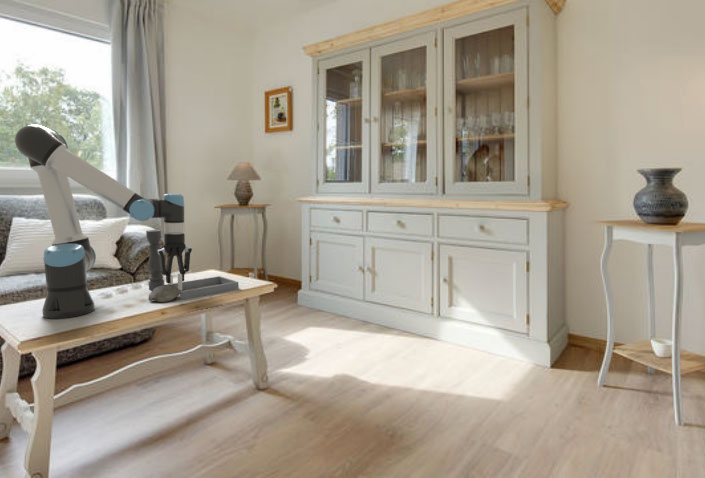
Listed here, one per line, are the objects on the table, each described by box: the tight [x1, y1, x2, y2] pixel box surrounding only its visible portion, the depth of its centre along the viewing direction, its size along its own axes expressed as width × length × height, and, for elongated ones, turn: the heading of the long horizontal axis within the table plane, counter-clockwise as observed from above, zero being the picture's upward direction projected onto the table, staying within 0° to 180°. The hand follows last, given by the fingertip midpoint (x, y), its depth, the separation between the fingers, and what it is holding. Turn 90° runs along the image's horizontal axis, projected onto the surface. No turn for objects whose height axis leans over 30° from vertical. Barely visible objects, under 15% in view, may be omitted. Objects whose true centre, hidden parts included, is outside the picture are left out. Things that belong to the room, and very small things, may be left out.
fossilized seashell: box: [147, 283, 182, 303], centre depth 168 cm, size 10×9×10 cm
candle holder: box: [145, 229, 165, 291], centre depth 184 cm, size 6×6×25 cm
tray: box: [166, 275, 240, 300], centre depth 181 cm, size 25×17×3 cm
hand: (175, 289), depth 175 cm, fingers open, 3 cm apart
